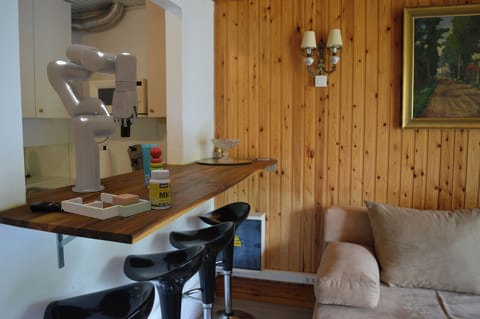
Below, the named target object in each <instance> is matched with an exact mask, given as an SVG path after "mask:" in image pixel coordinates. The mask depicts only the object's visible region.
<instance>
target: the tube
mask: <svg viewBox="0 0 480 319" xmlns="http://www.w3.org/2000/svg"><path fill="white" fill-rule="evenodd" d="M140 145H141V153H142V154H141V155H142V164H143V175H144V176H143V177H144V178H143V180H144V185H145V187H146V186H147V187H148V185H149V184H148V182H149V179H148V178H149V172H150V171H149V168H150V163H152V162H150V159H151V158H153V157H151V155H150V150H151V148H153V147H159V143H141V144H140Z"/></svg>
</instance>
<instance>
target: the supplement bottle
mask: <svg viewBox="0 0 480 319" xmlns="http://www.w3.org/2000/svg"><path fill="white" fill-rule="evenodd" d="M151 177H152V179H150V181H149V189H148V193H149V194H148V201H151V210H152V209H153V210H167V209H169V208H171V204H172V203H171V200H172V199H171V198H172V197H171V191H172V190H171V189H172V188H171V187H172V185H171V184H172V181H171V179H170V178H169V177H170V170H168V169H163V170H152V171H151Z"/></svg>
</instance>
